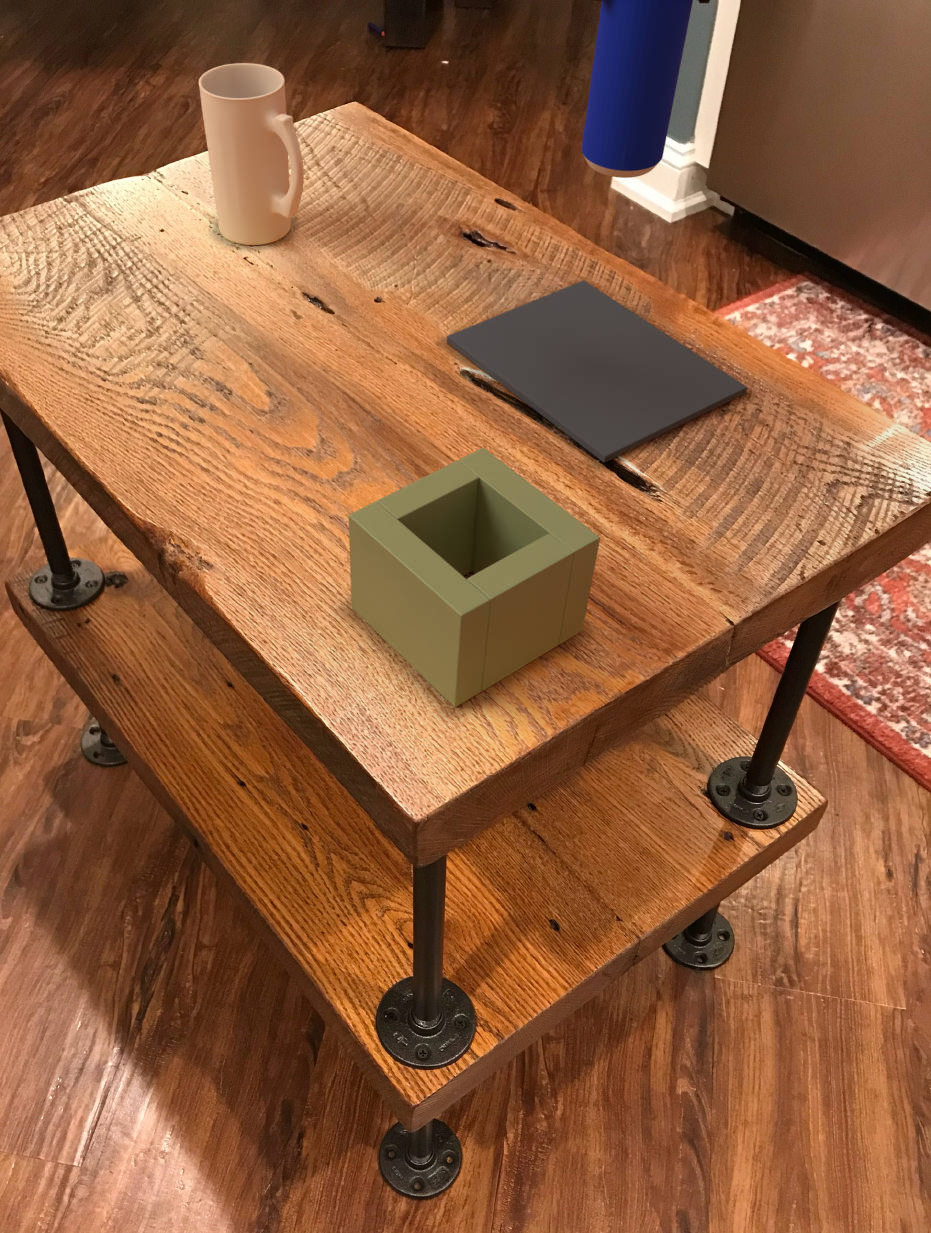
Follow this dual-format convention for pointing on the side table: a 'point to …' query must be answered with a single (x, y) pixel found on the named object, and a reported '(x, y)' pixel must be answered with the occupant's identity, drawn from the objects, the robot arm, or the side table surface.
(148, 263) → the side table surface
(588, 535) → the can holder
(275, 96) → the mug
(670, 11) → the beverage can
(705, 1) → the robot arm
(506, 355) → the mat
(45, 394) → the side table surface
